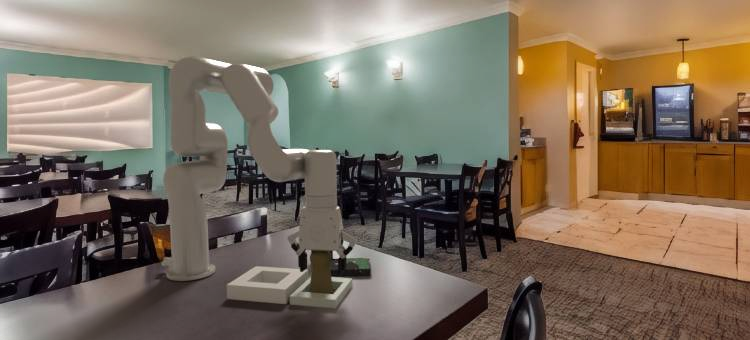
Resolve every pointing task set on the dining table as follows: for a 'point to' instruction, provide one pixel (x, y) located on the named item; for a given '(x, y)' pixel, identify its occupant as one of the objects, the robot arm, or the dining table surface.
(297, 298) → the green square frame
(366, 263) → the disk drive
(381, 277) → the dining table surface
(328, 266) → the cork
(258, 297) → the beige square frame
